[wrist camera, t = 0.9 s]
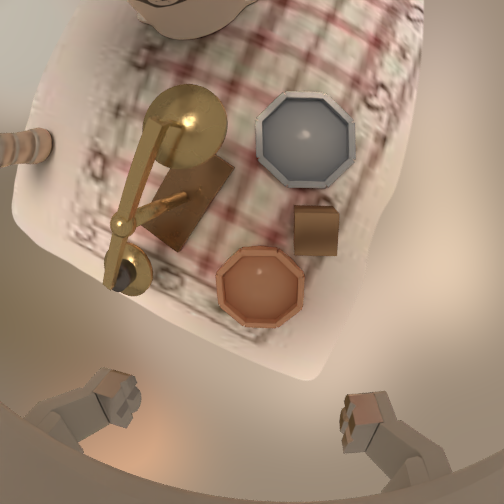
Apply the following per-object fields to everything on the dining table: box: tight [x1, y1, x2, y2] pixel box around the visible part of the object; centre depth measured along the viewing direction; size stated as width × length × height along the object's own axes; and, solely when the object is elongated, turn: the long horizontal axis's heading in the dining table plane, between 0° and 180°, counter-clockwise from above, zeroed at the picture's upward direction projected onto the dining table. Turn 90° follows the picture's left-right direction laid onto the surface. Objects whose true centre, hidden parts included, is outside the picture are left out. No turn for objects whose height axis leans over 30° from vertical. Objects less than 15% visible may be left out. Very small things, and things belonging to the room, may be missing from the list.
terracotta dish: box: [216, 246, 305, 328], centre depth 38 cm, size 12×12×2 cm
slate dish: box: [255, 91, 356, 188], centre depth 31 cm, size 12×12×2 cm
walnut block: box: [294, 205, 339, 256], centre depth 33 cm, size 5×5×5 cm
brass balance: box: [103, 84, 235, 296], centre depth 27 cm, size 26×7×19 cm, turn 145°
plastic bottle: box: [0, 128, 52, 168], centre depth 26 cm, size 6×7×20 cm
